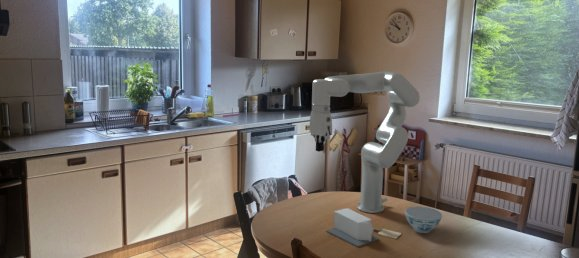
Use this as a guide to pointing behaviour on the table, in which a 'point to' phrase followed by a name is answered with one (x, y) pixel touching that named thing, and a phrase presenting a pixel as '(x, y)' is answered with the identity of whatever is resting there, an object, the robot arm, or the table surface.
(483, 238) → the table surface
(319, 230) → the table surface
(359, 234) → the milk carton
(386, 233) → the turner
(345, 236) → the mat
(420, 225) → the chinaware
